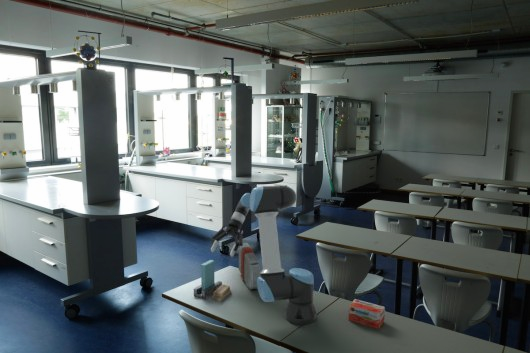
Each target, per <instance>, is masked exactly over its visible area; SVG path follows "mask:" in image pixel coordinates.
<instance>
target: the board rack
mask: <svg viewBox="0 0 530 353" xmlns="http://www.w3.org/2000/svg"><path fill="white" fill-rule="evenodd" d="M221 285H223V281H221V280H219V281H216V282H215V284H213V285H211V286H210V287H208V288H206V289H205V290H203V291H202V284H200V285H198V286H196V287H194V288H193V296H194V297H197V298H200V299H204V300H206V299H207V298H209V297H212V296H213V295H214V291H215V290H217V289H218V288H219V287H220V286H221Z"/></svg>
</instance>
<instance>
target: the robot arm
mask: <svg viewBox="0 0 530 353" xmlns="http://www.w3.org/2000/svg"><path fill="white" fill-rule="evenodd" d="M295 203H297V193H296V191H295V190H294V189H293V188H292V187H290V186H287V185H264V186H258V187H257V186H256V187H254V188H252V190H251V193H250V192H246V193H244V194H243V195H241V198H240V200H239V201H238V202H237V205H236V208H235V210H234V212H233V214H232V215H231V218H230V220H229V222H228V225H227V226H225V225H222V227H221V228H220V229H219V230H218V231H217V232H216V233H215V234H213V236H212V240H213V242H212V243H211V245H212V246H211V248H210V251H211V252H212V253H214V252H215V250H216V248H217V246H218V244H219V242H220V240H222V239H223V238H225V237H227V236H231V237H233V238H234V242H235V243H234V244H233V247H232V248H231V251H230V253H229V256H230V257H232V258H233V257H234V255H235V253H236V252H237V251H238V250H239V246H243V243H244V242H243V241H244V240H243V234H244V231H243V229H242V225H243V224H244V222H245V220H246V217H247V215H248V213H249V211H250V212H253V213H254V216H255V217H256V218H257V220H258V222H257V223H258V232H259V242H260V249H261V250H260V252H261V261H262V263H261V264H262V270H260V271H261V272H260V277H258V278H257V287H258V288H257V291H258V294H259V297H260V298H261V300H262V301H263V302H264V303H270V302H271V303H274V302H278V301H279V302H280V301H287V300H288V301H287V305H286V308H285V309H284V318H285V320H286V321H288V322H289V323H292V324H295V325H309V324H312V323H314V322H315V321H316V320H317V310H316V308H315V304H314V287H315V286H314V285H315V282H314V281H315V280H314V274H313V273H312V272H311V271H309V270H308V269H305V268H299V267H293V268H291V269H289V271H288V273H285V269H284V268H283V267H282V265H281V264H282V263H281V254H280V247H279V246H280V245H279V236H278V227H277V226H278V225H277V215H278V214H279V210H286V209H288V208H289V209H290V208H291V207H293V206H294V204H295Z"/></svg>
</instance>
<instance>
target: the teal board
mask: <svg viewBox="0 0 530 353" xmlns="http://www.w3.org/2000/svg"><path fill="white" fill-rule="evenodd" d="M200 272H201V273H200V277H201V278H200V279H201V284H202V291H203V290H205V289H206V288H208V287H210V286H211V285H213V284H215V283H216V282H215V260H213V259H210V260H208V261H205V262H203V263H201V264H200ZM201 284H200V285H201Z"/></svg>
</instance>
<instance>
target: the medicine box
mask: <svg viewBox="0 0 530 353" xmlns="http://www.w3.org/2000/svg"><path fill="white" fill-rule="evenodd" d="M385 309H386V308H385V306H383V305H378V304H375V303H372V302H367V301H363V300H360V299H356V298H354V300H353V301H352V302H351V303H350V304H349V306H348V321H350V322H354V323H357V324H360V325H362V326H363V325H364V326H367V327H370V328H373V329H377V330H380V329H381V327H382V325H383V323H384V322H385V315H386V310H385Z"/></svg>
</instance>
